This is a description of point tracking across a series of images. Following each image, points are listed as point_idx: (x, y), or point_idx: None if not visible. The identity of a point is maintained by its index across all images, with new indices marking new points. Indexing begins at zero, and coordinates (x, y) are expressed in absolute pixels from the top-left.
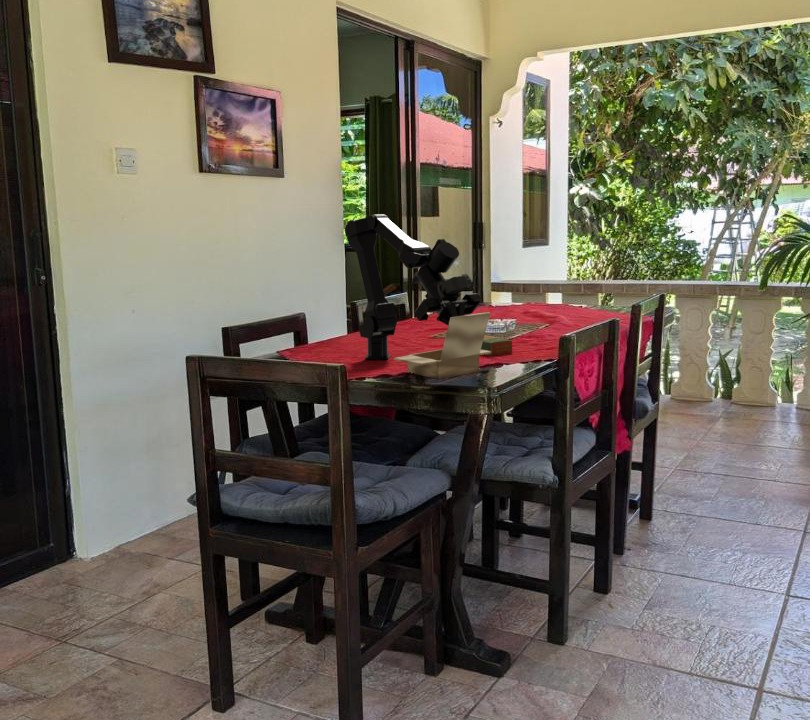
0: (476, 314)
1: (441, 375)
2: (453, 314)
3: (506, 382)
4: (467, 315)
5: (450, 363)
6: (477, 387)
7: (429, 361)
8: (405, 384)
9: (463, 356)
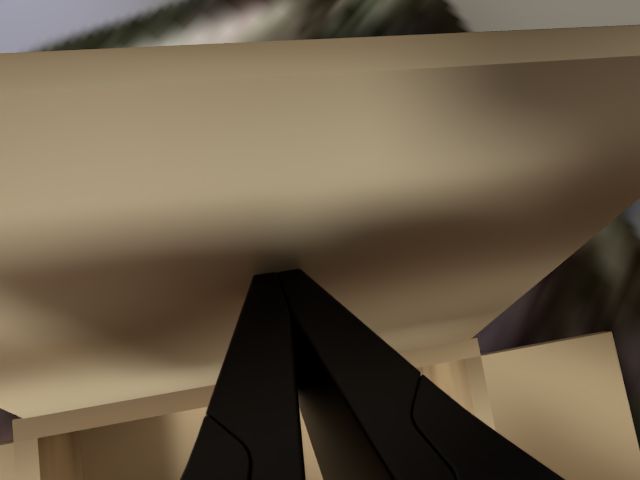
0: (98, 57)
1: None
2: (531, 477)
3: (157, 36)
4: (401, 50)
5: None
6: None
7: (534, 373)
8: (630, 330)
9: None
